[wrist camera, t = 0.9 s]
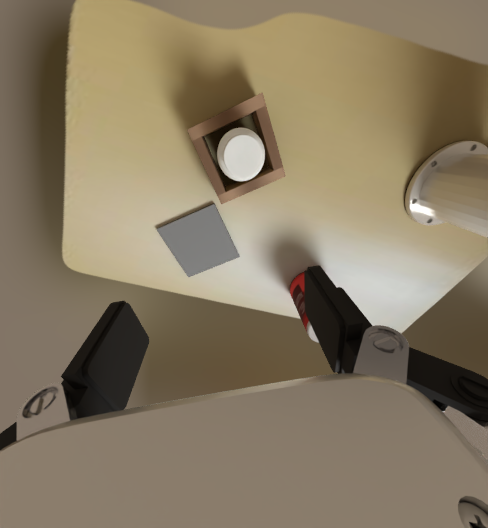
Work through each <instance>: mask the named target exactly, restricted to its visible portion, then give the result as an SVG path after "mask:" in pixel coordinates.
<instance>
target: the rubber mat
mask: <svg viewBox="0 0 488 528" xmlns="http://www.w3.org/2000/svg"><path fill="white" fill-rule="evenodd" d="M156 230H157V231H158V233H159V234H160V236H161V237H162V239H163V240H164V242H165V243H166V245H167V246H168V248H169V249H170V250H171V252H172V253H173V255H174V256H175V258H176V259H177V261H178V262H179V264H180V265H181V267H182V268H183V270H184V271H185V273H186V274H187V276H188V277H190V276H193V275H195V274H198V273H200V272H203V271H205V270H208V269H210V268H213V267H215V266H218V265H221V264H223V263H226V262H228V261H231V260H233V259H236V258H238V257H239V254H238V252H237V250H236V248H235V246H234V244H233V241H232V239H231V237H230V235H229V233H228V231H227V229H226V227H225V225H224V223H223V221H222V218H221V216H220V214H219V212H218V210H217V208H216V206H215V204H212V205H209V206H207V207H205V208H203V209H200V210H198V211H196V212H193V213H191V214H189V215H187V216H184V217H182V218H180V219H177V220H175V221H173V222H171V223H168V224H166V225H164V226H162V227H159V228H157V229H156Z"/></svg>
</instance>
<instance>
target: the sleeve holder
mask: <svg viewBox="0 0 488 528" xmlns="http://www.w3.org/2000/svg"><path fill="white" fill-rule="evenodd" d="M250 114H252V116H253V119H254V123H255V126H256V129H257V132H258V135H259V138H260V139H261V141H262V143H263V145H264V150H265V158H266V161H267V164H268V168H265V169H263V170H261V171H260V172H259V173H258V174H257V175H256V176H255V177H253V178H252V179H250V180H247V181H236V182H234V183H232V184H230V185H227V186H225V184H224V182H223V180H222V177H221V175H220V173H219V170H218V168H217V166H216V164H215V161H214V159H213V157H212V154H211V152H210V150H209V147H208V145H207V143H206V140H205V138H204V137H205V136H207V135H209V134H211V133H213V132H215V131H217V130H219V129H221V128H223V127H225V126H227V125H229V124H231V123H234V122H236V121H238V120H240V119H242V118H244V117H246V116H248V115H250ZM187 131H188V133H189V135H190V137H191V140H192V142H193V144H194V146H195V148H196V150H197V153H198V155H199V157H200V159H201V161H202V163H203V166H204V168H205V170H206V172H207V174H208V176H209V179H210V181H211V183H212V185H213V187H214V189H215V192H216V194H217V196H218V198H219V200H220V202H221V204H223V203H225V202H228V201H230V200H232V199H235V198H237V197H239V196H241V195H244V194H246V193H248V192H251V191H253V190H255V189H258V188H260V187H262V186H264V185H267V184H269V183H271V182H274V181H276V180H278V179H280V178H283V177H285V172H284V168H283V165H282V161H281V158H280V154H279V150H278V147H277V143H276V140H275V136H274V132H273V129H272V125H271V122H270V118H269V114H268V111H267V107H266V104H265V100H264V96H263V93H261V94H259V95H256V96H254V97H252V98H250V99H248V100H246V101H244V102H242V103H240V104H238V105H236V106H234V107H232V108H230V109H228V110H226V111H224V112H222V113H220V114H218V115H216V116H214V117H212V118H210V119H208V120H206V121H204V122H202V123H200V124H198V125H196V126H194V127H192V128H190V129H188V130H187Z"/></svg>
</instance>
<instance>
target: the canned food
mask: <svg viewBox="0 0 488 528" xmlns="http://www.w3.org/2000/svg"><path fill="white" fill-rule="evenodd" d="M290 294H291V297H292V299H293V301H294V304H295V306H296V308H297V311H298V313H299V315H300V318H301V320H302V322H303V325H304V327H305V329H306V331H307V333H308V335H309V336H310V338H311V339H312V340H313V341H316V342H319V341H318V339H317V337H316V335H315V333H314V331H313V328H312V326H311V324H310V322H309V320H308V318H307V316H306V313H305V294H304V272H303V273H301V274H299V275H298V276H297V277H296V278H295V279H294V280H293V281H292V283H291V287H290Z"/></svg>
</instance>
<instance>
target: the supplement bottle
mask: <svg viewBox="0 0 488 528" xmlns="http://www.w3.org/2000/svg"><path fill="white" fill-rule="evenodd" d="M217 158H218V163H219V166H220V168H221V170H222V171H223V172H224V174H225V175H227V176H228V177H229V178H231V179H233V180H236V181H247V180H250V179H252V178H253V177H255V176H256V175H257V174H258V173H259V172H260V170H261V169H262V166H263V164H264V160H265V150H264V145H263V143H262V141H261V139H260V138H259V136H258V135H257V134H256V133H255V132H253V131H252V130H250V129H247V128H235V129H232V130H230V131H229V132H227V133H226V134H225V135H224V136H223V137H222V139H221V141H220V143H219V146H218V150H217Z"/></svg>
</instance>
